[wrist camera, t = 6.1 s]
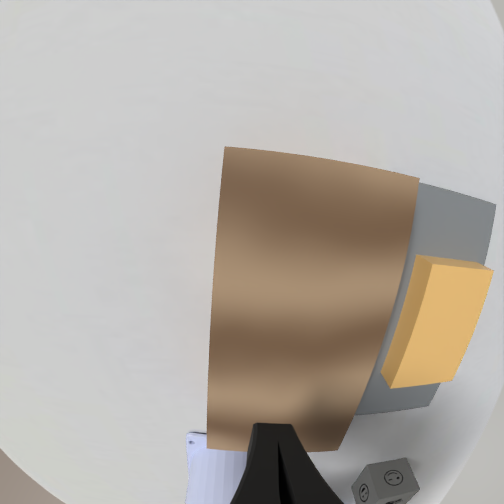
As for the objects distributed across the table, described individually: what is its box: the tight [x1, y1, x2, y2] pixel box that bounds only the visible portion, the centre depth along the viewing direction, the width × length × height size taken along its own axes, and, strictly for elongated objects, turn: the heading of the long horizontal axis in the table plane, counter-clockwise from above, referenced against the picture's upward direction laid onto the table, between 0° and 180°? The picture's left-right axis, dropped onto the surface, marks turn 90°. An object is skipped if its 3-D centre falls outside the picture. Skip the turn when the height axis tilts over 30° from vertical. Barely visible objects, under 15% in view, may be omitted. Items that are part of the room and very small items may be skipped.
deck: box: [207, 147, 419, 452], centre depth 16 cm, size 18×9×4 cm, turn 174°
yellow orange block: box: [381, 255, 493, 389], centre depth 17 cm, size 9×6×2 cm, turn 174°
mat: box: [354, 183, 496, 415], centre depth 18 cm, size 18×11×1 cm, turn 174°
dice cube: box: [352, 458, 420, 504], centre depth 22 cm, size 5×5×5 cm
